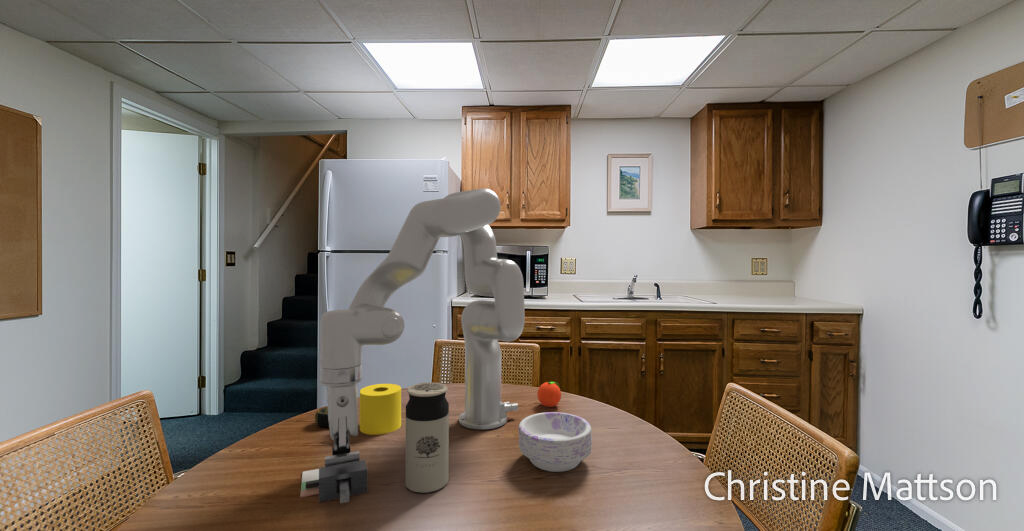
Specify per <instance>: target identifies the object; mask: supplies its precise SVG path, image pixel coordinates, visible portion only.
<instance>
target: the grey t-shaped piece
mask: <svg viewBox="0 0 1024 531" xmlns="http://www.w3.org/2000/svg"><path fill="white" fill-rule="evenodd" d="M360 453H361V452H360V450H357V451H350V453H344V454H338V455H332V454H331V455H327V456H324V467H327V466H333V465H338V464H344V463H349V462H355V461H361V460H360V455H361V454H360ZM348 480H350V478H345V479H340V480H336V483H337V482H339V492H340V498H339V502H340V504H345V503H349V502H350V496H349V486H348ZM318 486H319V480H314V481H308V482H306V489H308V488H313V487H318Z"/></svg>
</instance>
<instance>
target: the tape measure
mask: <svg viewBox="0 0 1024 531" xmlns="http://www.w3.org/2000/svg"><path fill="white" fill-rule="evenodd" d="M314 421H315V424H316V425H317V426H319V427H326V428H329V421H328V406H326V407H322V408H320V409H318V410H317V411H316V412H315V416H314Z"/></svg>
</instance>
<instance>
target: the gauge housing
mask: <svg viewBox="0 0 1024 531" xmlns="http://www.w3.org/2000/svg"><path fill="white" fill-rule="evenodd" d="M318 469H319V494H318V503H323V502H329V501H332V500H337V499H340V492H339V482H337V483H336V480H340V479H345V478H350V480H348V486H349V497H353V496H356V495H361V494H365V493H366V494H367V493H368V471H369V470H368V466H367V460H366V459H362V460H360V461H355V462H349V463H344V464H338V465H333V466H327V467H325V466H323V467H319V468H318Z"/></svg>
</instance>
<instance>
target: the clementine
mask: <svg viewBox="0 0 1024 531" xmlns="http://www.w3.org/2000/svg"><path fill="white" fill-rule="evenodd" d="M560 388H561V387H560V385H559V383H558V382H555V381H546V382H544V383H542V384H540V386H539V387H538V389H537V393H536V394H537V398H538V401H539V403H540V404H541V405H542V406H544V407H547V408H551V407H555V406H557V405H558V404H559V402H560V401H561V398H562V391H561V389H560Z"/></svg>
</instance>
